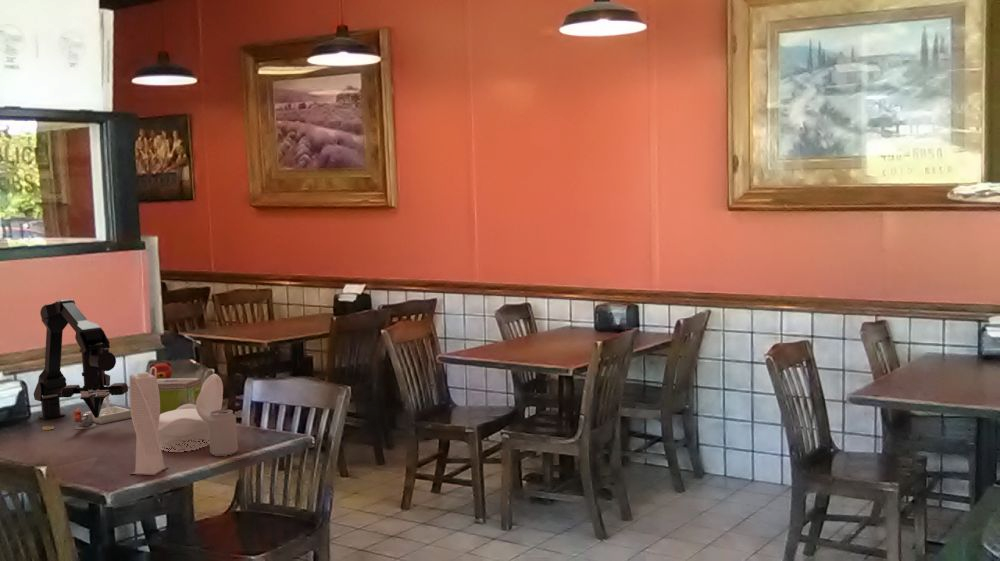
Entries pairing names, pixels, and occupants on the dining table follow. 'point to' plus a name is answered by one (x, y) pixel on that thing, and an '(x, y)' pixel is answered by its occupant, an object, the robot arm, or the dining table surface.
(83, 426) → the crank base
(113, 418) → the tray
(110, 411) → the chess piece
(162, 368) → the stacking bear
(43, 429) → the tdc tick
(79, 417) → the crank
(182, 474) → the dining table surface
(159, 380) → the tea box
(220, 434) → the can
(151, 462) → the skyscraper
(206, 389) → the chair
